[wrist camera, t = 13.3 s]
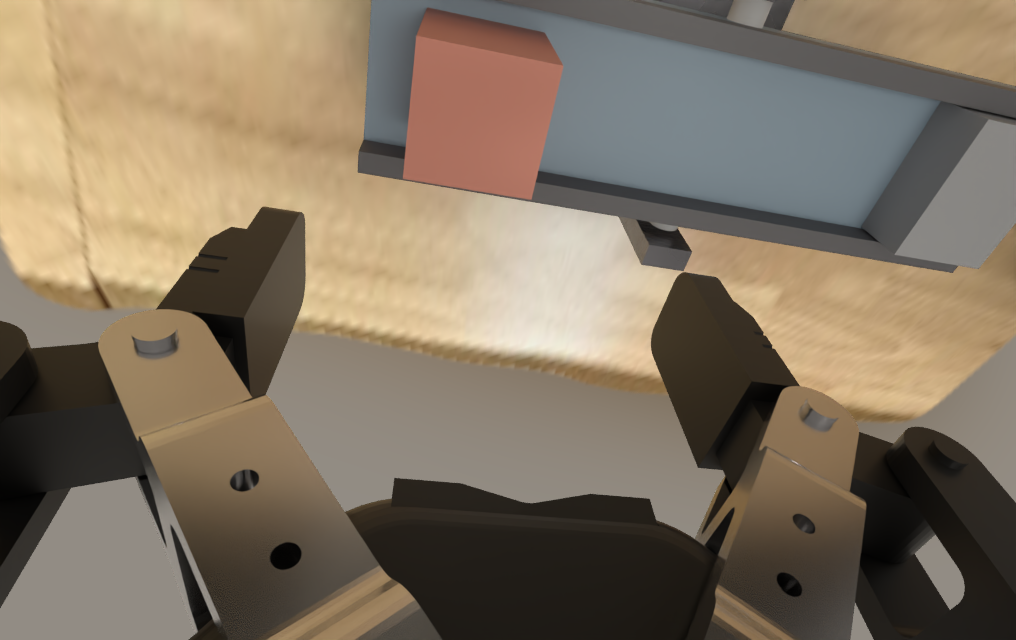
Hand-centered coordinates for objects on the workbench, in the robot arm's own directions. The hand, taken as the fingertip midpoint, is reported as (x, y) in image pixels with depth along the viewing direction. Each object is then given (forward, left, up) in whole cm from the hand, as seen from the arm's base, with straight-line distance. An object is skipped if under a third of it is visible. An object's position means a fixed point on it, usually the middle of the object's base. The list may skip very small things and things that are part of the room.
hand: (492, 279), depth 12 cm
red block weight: (0, 0, -16) cm, 16 cm away
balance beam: (-6, -10, -17) cm, 20 cm away
